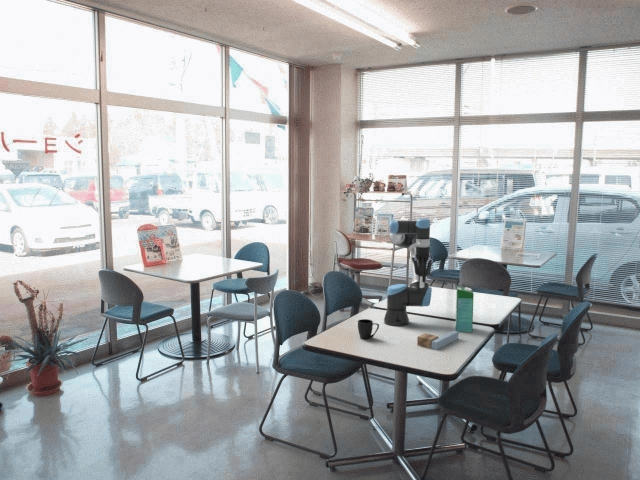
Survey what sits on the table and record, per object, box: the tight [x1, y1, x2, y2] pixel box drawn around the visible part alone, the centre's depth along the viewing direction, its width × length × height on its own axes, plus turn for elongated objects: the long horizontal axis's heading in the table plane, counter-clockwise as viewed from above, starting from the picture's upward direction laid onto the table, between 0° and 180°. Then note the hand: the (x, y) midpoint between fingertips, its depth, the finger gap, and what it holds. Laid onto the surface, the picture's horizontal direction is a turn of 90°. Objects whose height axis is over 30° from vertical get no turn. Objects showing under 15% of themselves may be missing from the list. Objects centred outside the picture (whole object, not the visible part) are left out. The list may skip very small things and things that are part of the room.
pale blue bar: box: [431, 330, 459, 351], centre depth 290 cm, size 3×24×4 cm, turn 139°
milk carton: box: [455, 285, 475, 333], centre depth 314 cm, size 9×9×25 cm
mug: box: [357, 318, 380, 340], centre depth 300 cm, size 8×12×10 cm
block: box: [416, 333, 439, 349], centre depth 287 cm, size 8×8×5 cm
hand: (422, 287), depth 307 cm, fingers closed
